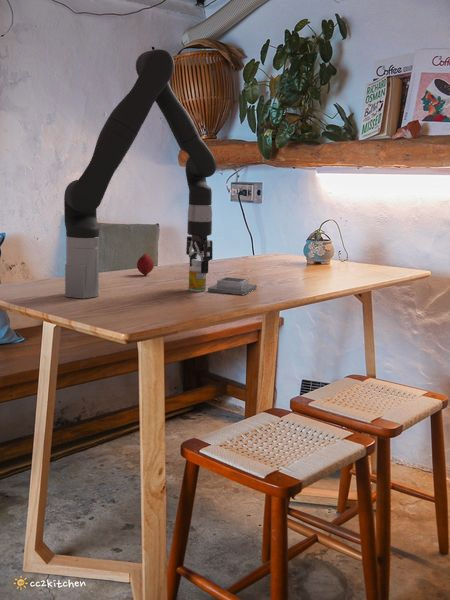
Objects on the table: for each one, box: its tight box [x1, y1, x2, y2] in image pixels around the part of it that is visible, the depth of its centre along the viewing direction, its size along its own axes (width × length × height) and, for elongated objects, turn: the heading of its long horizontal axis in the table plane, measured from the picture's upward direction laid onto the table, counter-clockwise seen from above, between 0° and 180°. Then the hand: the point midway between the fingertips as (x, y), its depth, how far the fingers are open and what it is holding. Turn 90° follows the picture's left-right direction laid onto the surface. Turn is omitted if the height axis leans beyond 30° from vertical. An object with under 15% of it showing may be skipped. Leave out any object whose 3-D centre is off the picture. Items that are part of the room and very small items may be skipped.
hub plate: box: [207, 276, 258, 296], centre depth 218 cm, size 14×12×3 cm
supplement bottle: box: [188, 258, 207, 293], centre depth 215 cm, size 5×5×10 cm
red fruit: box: [136, 252, 155, 276], centre depth 240 cm, size 6×6×8 cm
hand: (198, 271), depth 215 cm, fingers open, 8 cm apart
